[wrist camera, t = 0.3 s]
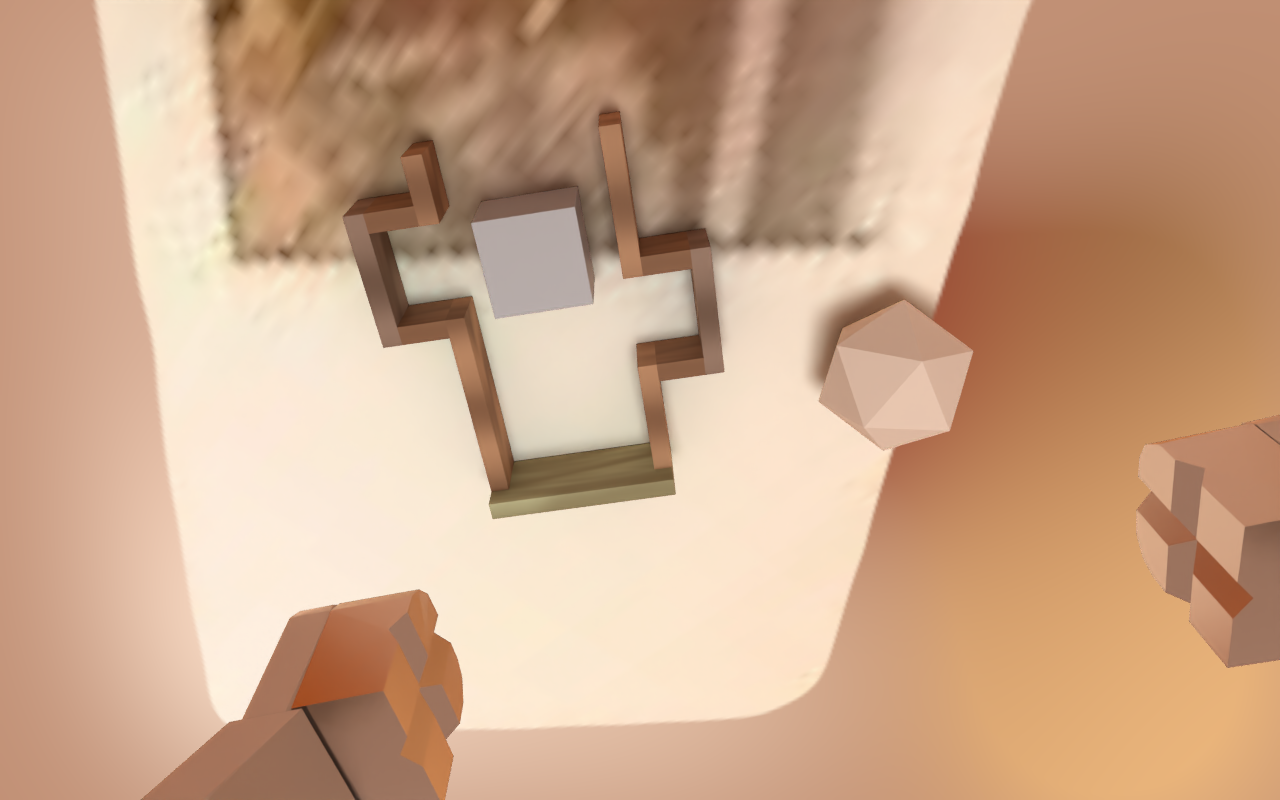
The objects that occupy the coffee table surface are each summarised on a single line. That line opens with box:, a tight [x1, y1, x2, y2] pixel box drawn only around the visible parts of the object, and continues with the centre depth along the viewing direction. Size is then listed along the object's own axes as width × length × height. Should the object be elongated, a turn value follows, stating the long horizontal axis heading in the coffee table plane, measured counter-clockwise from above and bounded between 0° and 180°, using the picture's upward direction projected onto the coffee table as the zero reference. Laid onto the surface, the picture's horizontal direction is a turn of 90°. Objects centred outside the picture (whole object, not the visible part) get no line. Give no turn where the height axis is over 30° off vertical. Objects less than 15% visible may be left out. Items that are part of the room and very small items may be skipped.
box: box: [343, 111, 724, 519], centre depth 56 cm, size 24×21×5 cm
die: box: [819, 299, 973, 450], centre depth 56 cm, size 8×9×10 cm
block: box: [471, 186, 595, 319], centre depth 54 cm, size 6×6×4 cm
